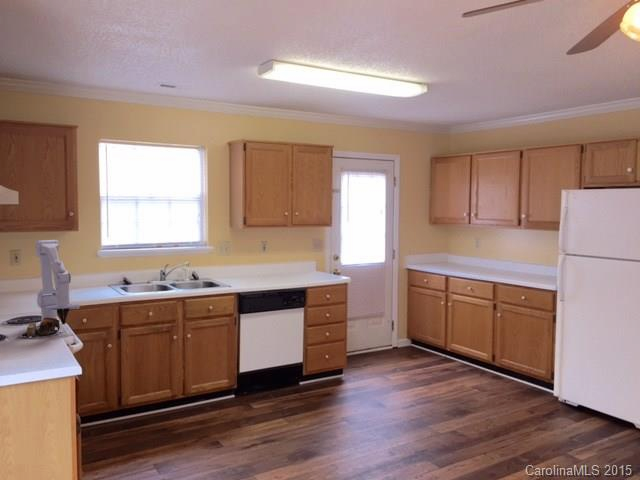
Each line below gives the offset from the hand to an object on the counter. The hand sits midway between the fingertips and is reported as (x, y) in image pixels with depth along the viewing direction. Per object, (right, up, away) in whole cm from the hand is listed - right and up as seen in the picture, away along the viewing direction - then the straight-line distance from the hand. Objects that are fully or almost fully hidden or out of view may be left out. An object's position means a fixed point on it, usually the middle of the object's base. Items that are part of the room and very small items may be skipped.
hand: (63, 324), depth 264 cm
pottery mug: (-6, -4, -2) cm, 7 cm away
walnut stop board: (-13, -4, -5) cm, 15 cm away
